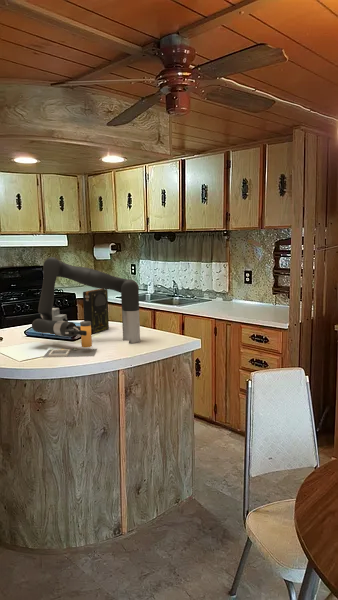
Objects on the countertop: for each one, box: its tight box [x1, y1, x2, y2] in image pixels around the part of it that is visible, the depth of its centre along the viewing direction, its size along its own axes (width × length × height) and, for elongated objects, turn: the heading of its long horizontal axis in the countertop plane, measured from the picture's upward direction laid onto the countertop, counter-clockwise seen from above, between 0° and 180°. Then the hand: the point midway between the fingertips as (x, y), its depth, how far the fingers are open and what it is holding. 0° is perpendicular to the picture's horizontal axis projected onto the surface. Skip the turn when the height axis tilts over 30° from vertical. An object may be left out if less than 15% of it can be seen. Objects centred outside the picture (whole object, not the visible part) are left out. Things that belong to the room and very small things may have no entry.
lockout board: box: [42, 347, 98, 359], centre depth 222 cm, size 24×14×3 cm, turn 92°
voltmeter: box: [82, 288, 110, 335], centre depth 275 cm, size 16×9×25 cm, turn 148°
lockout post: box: [79, 320, 93, 348], centre depth 224 cm, size 5×5×12 cm
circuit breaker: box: [40, 307, 69, 322], centre depth 269 cm, size 8×14×15 cm, turn 78°
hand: (90, 332), depth 223 cm, fingers closed on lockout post, 5 cm apart
